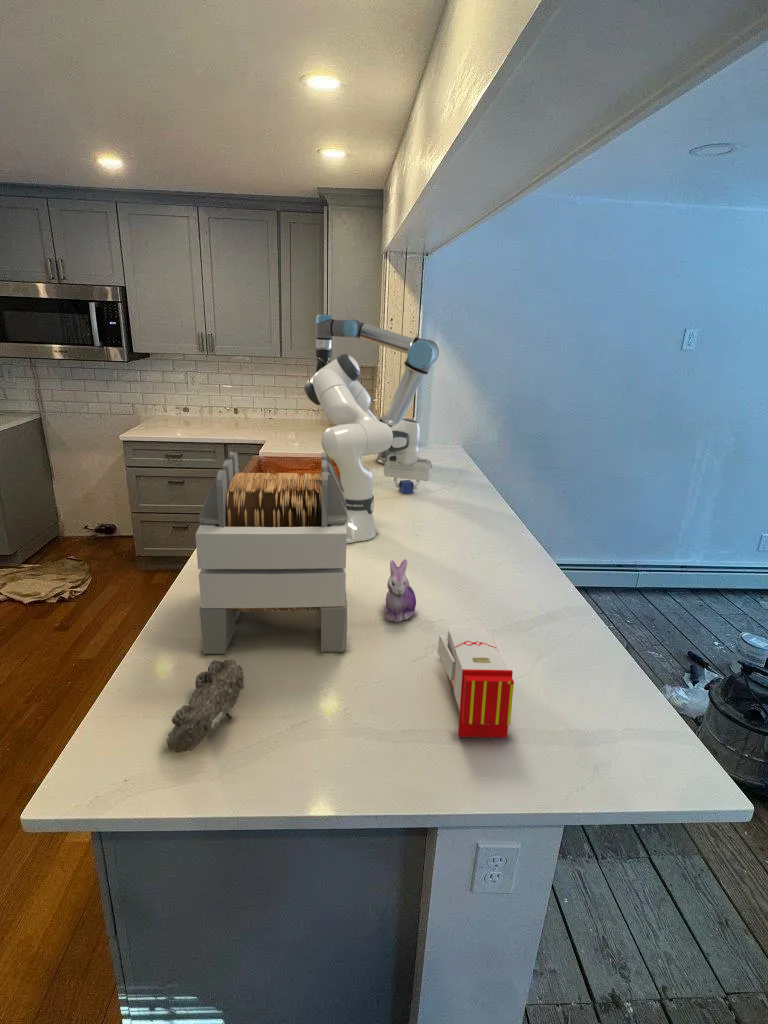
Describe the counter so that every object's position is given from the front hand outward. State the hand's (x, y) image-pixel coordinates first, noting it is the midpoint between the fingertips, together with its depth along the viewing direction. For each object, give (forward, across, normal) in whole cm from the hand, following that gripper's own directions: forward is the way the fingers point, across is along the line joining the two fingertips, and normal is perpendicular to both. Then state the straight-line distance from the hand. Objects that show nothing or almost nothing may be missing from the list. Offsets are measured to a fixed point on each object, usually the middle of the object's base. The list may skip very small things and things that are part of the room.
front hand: (406, 488), depth 245 cm
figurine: (+2, -19, +103) cm, 104 cm away
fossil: (+2, +7, +151) cm, 151 cm away
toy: (+2, -40, +129) cm, 135 cm away
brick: (+2, 0, 0) cm, 2 cm away
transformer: (+2, +10, +113) cm, 114 cm away
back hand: (-32, +50, -36) cm, 69 cm away
